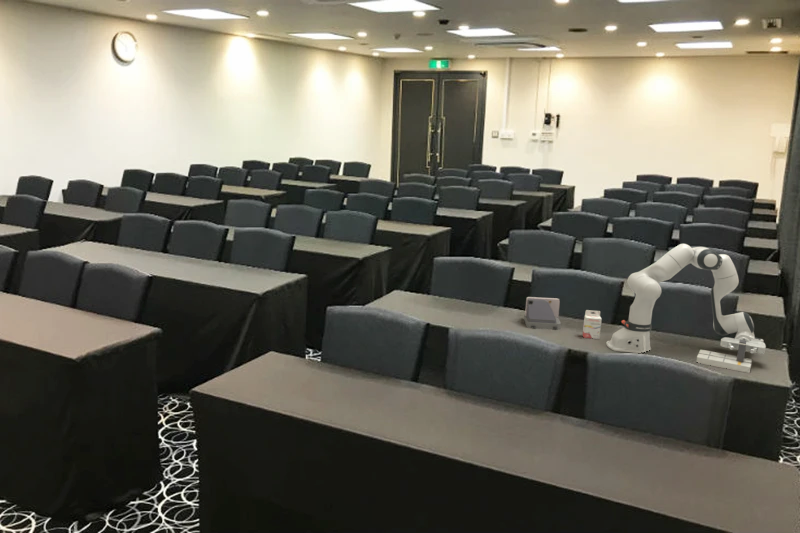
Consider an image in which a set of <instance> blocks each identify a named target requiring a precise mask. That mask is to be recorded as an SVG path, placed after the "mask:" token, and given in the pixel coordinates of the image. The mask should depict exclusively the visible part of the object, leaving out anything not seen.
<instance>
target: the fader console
mask: <svg viewBox="0 0 800 533" xmlns="http://www.w3.org/2000/svg"><path fill="white" fill-rule="evenodd" d="M736 359H737V355H733V354H727V353H721V352H715V351H711V350H705V349H701V348H700V350H699V352H698V354H697V356H696V361H695V362H698V363H697V364H700V363H701V364H700V365H706V366H710V365H711V366H712V367H717V368H722V369H726V368H727V369H726V370H732V371H736V372H742V373H747V374H750V372H751V367H752V362H753V359H752V358H748V357H744V362H740V361H736ZM711 366H710V367H711Z"/></svg>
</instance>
